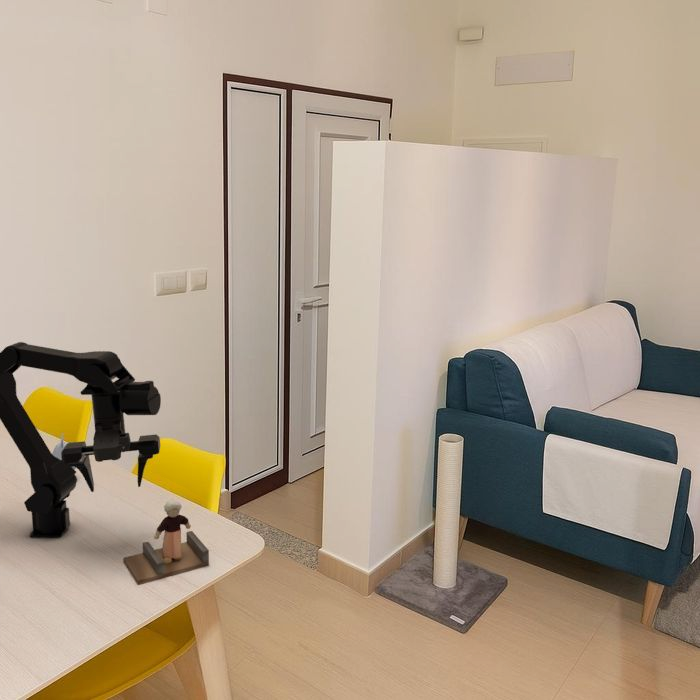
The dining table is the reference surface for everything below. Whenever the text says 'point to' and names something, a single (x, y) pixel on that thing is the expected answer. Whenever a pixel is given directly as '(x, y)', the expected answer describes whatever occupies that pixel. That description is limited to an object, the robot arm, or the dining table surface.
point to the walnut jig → (154, 568)
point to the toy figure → (60, 449)
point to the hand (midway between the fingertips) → (116, 488)
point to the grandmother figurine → (172, 531)
